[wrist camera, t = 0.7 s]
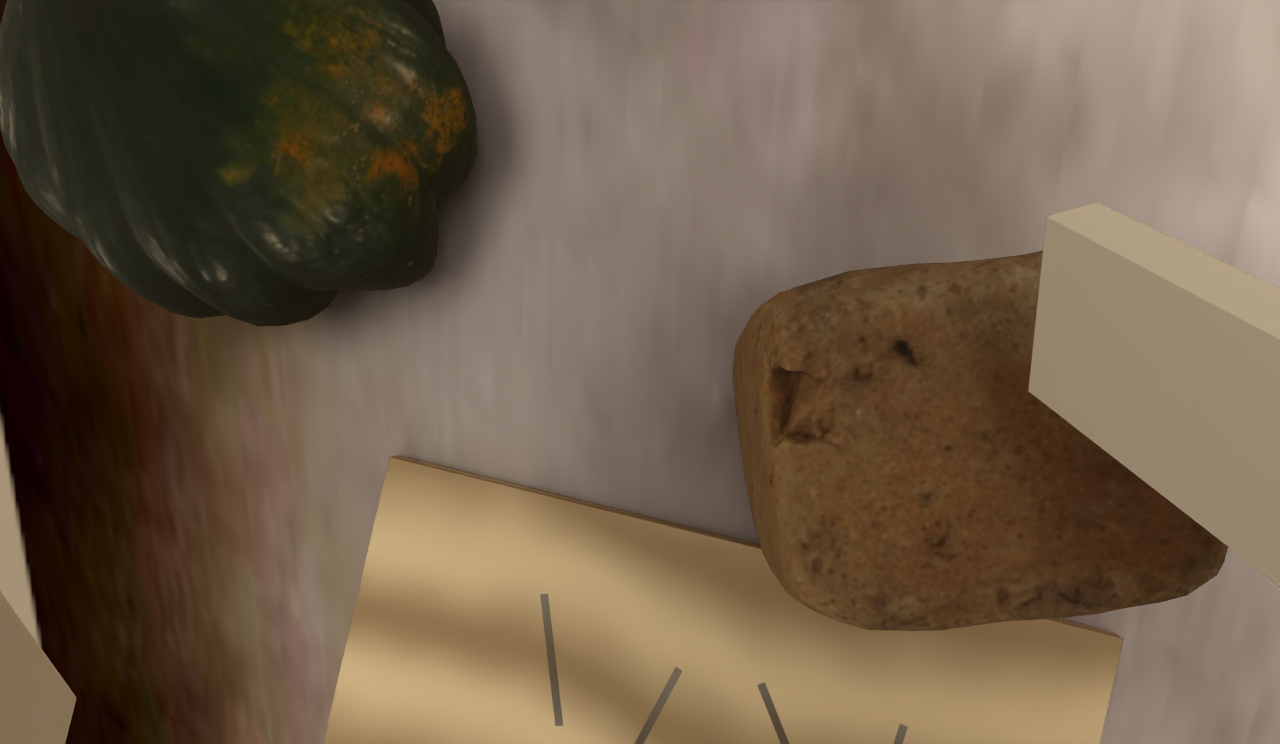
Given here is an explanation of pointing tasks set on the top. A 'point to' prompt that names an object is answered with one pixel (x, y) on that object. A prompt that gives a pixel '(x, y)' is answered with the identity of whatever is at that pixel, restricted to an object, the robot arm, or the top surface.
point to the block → (939, 460)
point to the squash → (239, 143)
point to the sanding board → (661, 640)
